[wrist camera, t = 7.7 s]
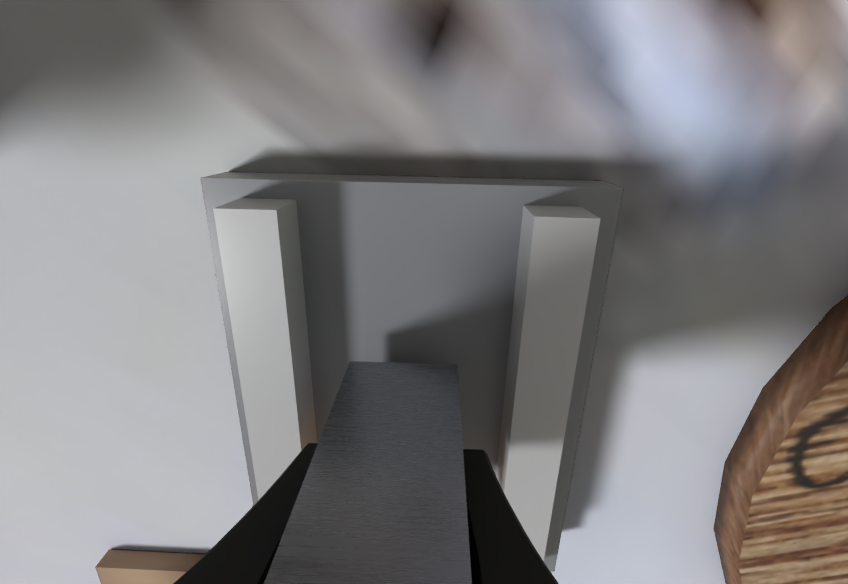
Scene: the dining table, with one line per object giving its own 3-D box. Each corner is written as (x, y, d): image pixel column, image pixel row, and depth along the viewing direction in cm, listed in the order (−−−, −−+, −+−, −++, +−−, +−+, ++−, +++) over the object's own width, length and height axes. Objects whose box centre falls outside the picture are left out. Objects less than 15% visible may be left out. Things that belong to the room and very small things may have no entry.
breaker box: (226, 172, 13) (167, 185, 10) (603, 180, 13) (649, 197, 10) (276, 523, 18) (245, 597, 15) (545, 535, 18) (564, 613, 15)
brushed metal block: (354, 447, 13) (269, 761, 7) (349, 361, 12) (244, 634, 6) (453, 451, 13) (464, 772, 7) (457, 364, 12) (475, 646, 6)
